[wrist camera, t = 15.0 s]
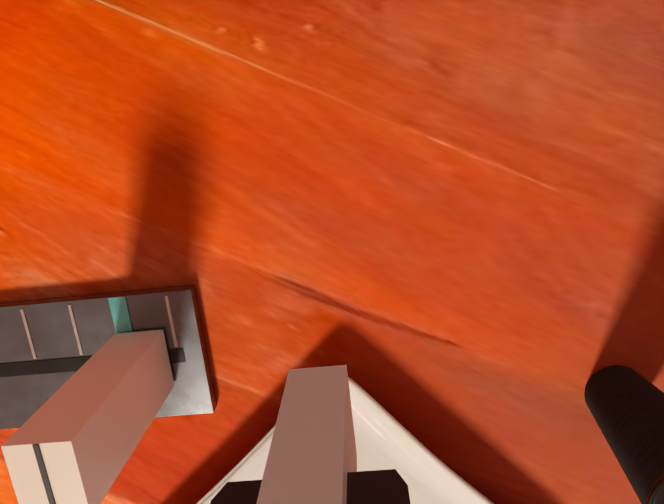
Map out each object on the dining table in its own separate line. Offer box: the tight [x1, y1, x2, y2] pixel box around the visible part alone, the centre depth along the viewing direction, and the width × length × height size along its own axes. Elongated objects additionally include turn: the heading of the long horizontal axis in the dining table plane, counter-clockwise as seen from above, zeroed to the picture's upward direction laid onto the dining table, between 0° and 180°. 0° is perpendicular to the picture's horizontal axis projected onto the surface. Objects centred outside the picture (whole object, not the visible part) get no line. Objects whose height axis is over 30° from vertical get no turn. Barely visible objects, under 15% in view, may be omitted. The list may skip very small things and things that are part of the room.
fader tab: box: [1, 330, 174, 504], centre depth 38 cm, size 4×5×15 cm
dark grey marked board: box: [0, 285, 217, 429], centre depth 47 cm, size 26×11×1 cm, turn 96°
